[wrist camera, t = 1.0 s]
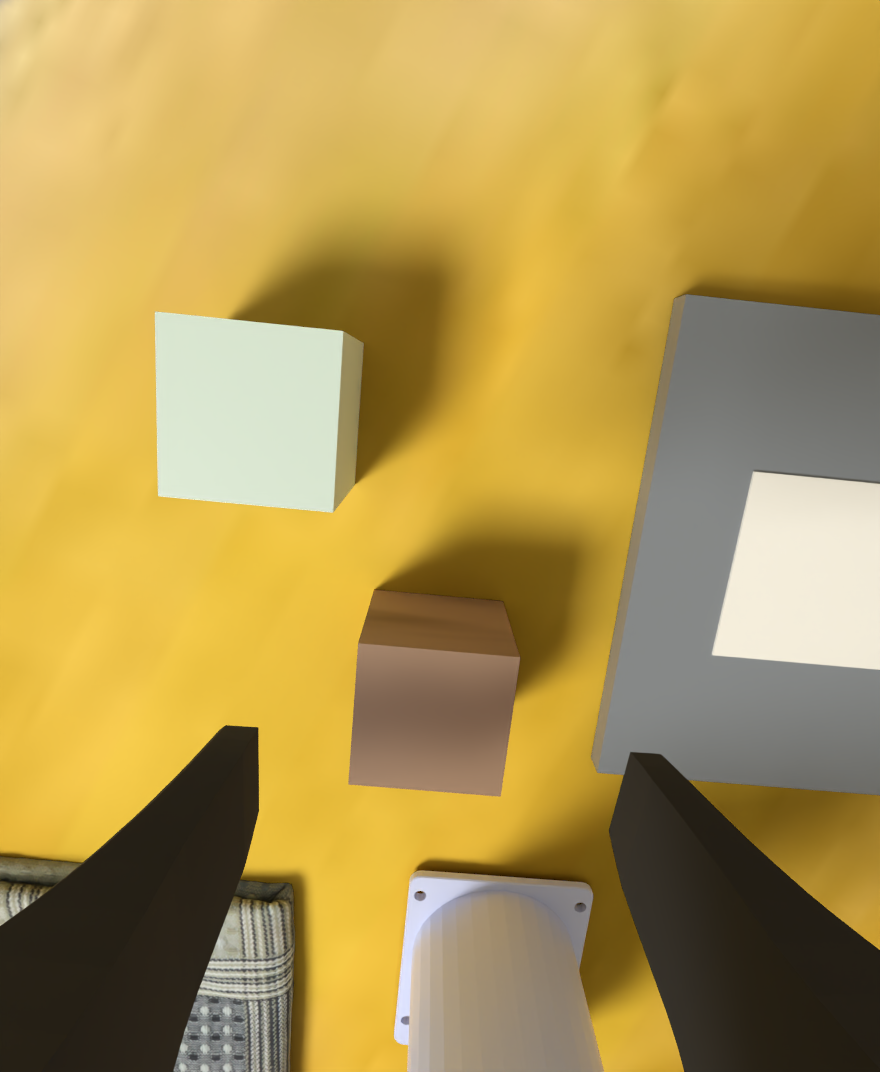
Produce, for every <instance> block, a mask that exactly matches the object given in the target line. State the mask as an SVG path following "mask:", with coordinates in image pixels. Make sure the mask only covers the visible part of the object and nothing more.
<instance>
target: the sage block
mask: <svg viewBox="0 0 880 1072" xmlns="http://www.w3.org/2000/svg"><path fill="white" fill-rule="evenodd" d="M155 344H156V400H157V457H158V496H162V497H172V498H183V499H194V500H205V501H215V502H226V503H237V504H248V505H258V506H269V507H280V508H291V509H301V510H312V511H323V512H334V511H335V510H336V508H337V507H338V506H339V504H340V503H341V502H342V501H343V499H344V498H345V497H346V495H347V494H348V493H349V492H350V490H351V489H352V488H353V487H354V485H355V474H356V458H357V443H358V427H359V411H360V396H361V380H362V364H363V348H364V343H363V342H361V341H359V340H357V339H356V338H354V337H352V336H351V335H349V334H347V333H346V332H344V331H338V330H328V329H319V328H309V327H299V326H290V325H280V324H270V323H261V322H251V321H241V320H232V319H222V318H212V317H203V316H193V315H183V314H174V313H164V312H155Z"/></svg>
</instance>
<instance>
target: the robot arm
mask: <svg viewBox="0 0 880 1072" xmlns="http://www.w3.org/2000/svg"><path fill="white" fill-rule="evenodd" d="M258 812H259V764H258V728H257V727H242V726H227V725H226V726H224V727H223V728H222V729H220V730H219V731H218V732H217V733H216V734H215V736H214V737H213V738H212V739H211V740H210V741H209V742H208V743H207V744H206V745H205V746H204V748H203V749H202V750H201V751H200V752H199V753H198V754H197V755H196V756H195V757H194V758H193V759H192V760H191V761H190V763H189V764H188V765H187V766H186V767H185V768H184V769H183V770H182V771H181V772H180V773H179V774H178V775H177V776H176V777H175V778H174V779H173V780H172V781H171V782H170V783H169V784H168V785H167V786H166V787H165V788H164V789H163V790H162V791H161V792H160V793H159V794H158V795H157V796H156V797H155V798H154V799H153V800H152V801H151V802H150V803H149V804H148V805H147V806H146V807H145V808H144V809H143V810H141V811H140V812H139V813H138V814H137V815H136V816H135V817H134V818H133V819H132V820H131V821H130V822H128V823H127V824H126V825H125V826H124V827H123V828H122V829H121V830H120V831H118V832H117V833H116V834H115V835H114V836H113V837H112V838H111V839H110V840H108V841H107V842H106V843H105V844H104V845H103V846H102V847H101V848H100V849H98V850H97V851H96V852H95V853H94V854H93V855H91V856H90V857H89V858H88V859H87V860H85V861H84V862H83V863H82V864H81V865H79V866H78V867H77V868H76V869H75V870H73V871H72V872H71V873H70V874H68V875H67V876H66V877H65V878H63V879H62V880H61V881H60V882H58V883H57V884H56V885H54V886H53V887H52V888H51V889H49V890H48V891H47V892H46V893H44V894H43V895H42V896H40V897H39V898H38V899H36V900H35V901H34V902H32V903H31V904H30V905H28V906H27V907H26V908H24V909H23V910H21V911H20V912H19V913H17V914H16V915H15V916H13V917H12V918H10V919H9V920H8V921H6V922H5V923H4V924H2V925H1V926H0V1072H173V1071H174V1067H175V1064H176V1060H177V1057H178V1053H179V1050H180V1046H181V1043H182V1039H183V1036H184V1032H185V1029H186V1026H187V1023H188V1020H189V1017H190V1014H191V1011H192V1008H193V1005H194V1002H195V999H196V996H197V993H198V991H199V988H200V985H201V983H202V980H203V977H204V975H205V972H206V969H207V967H208V964H209V961H210V959H211V956H212V953H213V951H214V948H215V945H216V943H217V940H218V937H219V935H220V932H221V929H222V927H223V924H224V921H225V919H226V916H227V913H228V911H229V908H230V905H231V902H232V900H233V897H234V894H235V892H236V889H237V886H238V883H239V881H240V878H241V875H242V872H243V870H244V867H245V863H246V860H247V856H248V852H249V848H250V844H251V841H252V836H253V832H254V828H255V824H256V820H257V816H258ZM609 834H610V838H611V843H612V847H613V852H614V857H615V861H616V865H617V869H618V873H619V878H620V882H621V886H622V889H623V891H624V894H625V897H626V900H627V903H628V906H629V909H630V912H631V914H632V917H633V920H634V923H635V926H636V929H637V931H638V934H639V937H640V940H641V943H642V945H643V948H644V951H645V954H646V956H647V959H648V962H649V965H650V968H651V970H652V973H653V976H654V979H655V981H656V984H657V987H658V990H659V993H660V995H661V998H662V1001H663V1004H664V1006H665V1009H666V1012H667V1015H668V1018H669V1021H670V1024H671V1027H672V1030H673V1033H674V1036H675V1040H676V1043H677V1046H678V1049H679V1053H680V1057H681V1060H682V1064H683V1068H684V1072H880V950H879V949H878V948H876V947H875V946H874V945H872V944H871V943H870V942H868V941H867V940H866V939H864V938H863V937H862V936H861V935H859V934H858V933H857V932H856V931H854V930H853V929H852V928H850V927H849V926H848V925H847V924H845V923H844V922H843V921H842V920H840V919H839V918H838V917H836V916H835V915H834V914H833V913H831V912H830V911H829V910H828V909H826V908H825V907H824V906H823V905H822V904H820V903H819V902H818V901H817V900H816V899H814V898H813V897H812V896H811V895H810V894H808V893H807V892H806V891H805V890H804V889H803V888H801V887H800V886H799V885H798V884H797V883H796V882H795V881H793V880H792V879H791V878H790V877H789V876H788V875H787V874H786V873H784V872H783V871H782V870H781V869H780V868H779V867H778V866H776V865H775V864H774V863H773V862H772V861H771V860H770V859H769V858H768V857H767V856H765V855H764V854H763V853H762V852H761V851H760V850H759V849H758V848H757V847H756V846H755V845H754V844H752V843H751V842H750V841H749V840H748V839H747V838H746V837H745V836H744V835H743V834H742V833H741V832H740V831H739V830H738V829H737V828H736V827H735V826H734V825H733V824H732V823H731V822H729V821H728V820H727V819H726V818H725V817H724V816H723V815H722V814H721V813H720V812H719V811H718V810H717V809H716V808H715V807H714V806H713V805H712V804H711V803H710V802H709V801H708V800H707V799H706V798H705V797H704V796H703V795H702V794H701V793H700V792H699V791H698V790H697V789H696V788H695V787H694V786H693V785H692V784H691V783H690V782H689V781H688V780H687V779H686V778H685V777H684V776H683V775H682V774H681V773H680V772H679V771H678V770H677V769H676V768H675V767H674V766H673V765H672V764H671V763H670V762H669V761H668V760H667V759H666V758H665V757H663V756H662V755H661V754H655V753H640V752H630V755H629V758H628V762H627V766H626V770H625V773H624V777H623V781H622V784H621V788H620V792H619V795H618V799H617V803H616V806H615V810H614V814H613V817H612V821H611V825H610V828H609ZM417 891H423V892H424V893H417ZM592 902H593V893H592V889H591V887H590V886H589V885H588V884H587V883H583V882H573V881H560V880H546V879H533V878H519V877H506V876H492V875H478V874H465V873H451V872H438V871H424V870H421V871H416V872H414V873H413V874H412V875H411V877H410V883H409V892H408V902H407V912H406V922H405V931H404V941H403V951H402V960H401V970H400V980H399V989H398V999H397V1009H396V1019H395V1028H394V1038H395V1040H396V1041H397V1042H398V1043H400V1044H404V1045H408V1066H407V1072H604V1070H603V1066H602V1062H601V1058H600V1054H599V1050H598V1045H597V1041H596V1037H595V1033H594V1029H593V1025H592V1021H591V1017H590V1013H589V1009H588V1005H587V1001H586V997H585V993H584V989H583V985H582V981H581V977H580V973H579V968H580V963H581V958H582V953H583V948H584V943H585V938H586V932H587V927H588V922H589V917H590V912H591V907H592ZM577 903H582V904H580V905H576V904H577Z"/></svg>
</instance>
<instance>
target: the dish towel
mask: <svg viewBox="0 0 880 1072" xmlns="http://www.w3.org/2000/svg"><path fill="white" fill-rule="evenodd" d="M81 864H82V863H73V862H60V861H50V860H36V859H27V858H11V857H3V856H0V926H1V925H2V924H4V923H5V922H6V921H8V920H9V919H10V918H12V917H13V916H15V915H16V914H17V913H19V912H20V911H21V910H23V909H24V908H26V907H27V906H28V905H30V904H31V903H32V902H34V901H35V900H36V899H38V898H39V897H40V896H42V895H43V894H44V893H46V892H47V891H48V890H49V889H51V888H52V887H53V886H54V885H56V884H57V883H58V882H60V881H61V880H62V879H63V878H65V877H66V876H67V875H68V874H70V873H71V872H72V871H73V870H75V869H76V868H77V867H78V866H79V865H81ZM293 917H294V907H293V888H292V885H291V884H289V883H262V882H256V881H246V880H240V881H239V883H238V886H237V889H236V892H235V894H234V897H233V900H232V902H231V905H230V908H229V911H228V913H227V916H226V919H225V921H224V924H223V927H222V929H221V932H220V935H219V937H218V940H217V943H216V945H215V948H214V951H213V953H212V956H211V959H210V961H209V964H208V967H207V969H206V972H205V975H204V977H203V980H202V983H201V985H200V988H199V991H198V993H197V996H196V999H195V1002H194V1005H193V1008H192V1011H191V1014H190V1017H189V1020H188V1023H187V1026H186V1029H185V1032H184V1036H183V1039H182V1043H181V1046H180V1050H179V1053H178V1057H177V1060H176V1064H175V1067H174V1071H173V1072H290V1048H291V1042H290V1039H291V1019H292V1002H293V987H294V979H293V972H294V951H295V926H294V919H293Z"/></svg>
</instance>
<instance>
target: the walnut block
mask: <svg viewBox="0 0 880 1072" xmlns="http://www.w3.org/2000/svg"><path fill="white" fill-rule="evenodd" d="M519 663H520V655H519V651H518V648H517V645H516V642H515V639H514V635H513V632H512V629H511V626H510V622H509V619H508V616H507V613H506V609H505V606H504V603H503V601H496V600H485V599H474V598H463V597H452V596H440V595H429V594H418V593H407V592H396V591H384V590H374V592H373V596H372V599H371V602H370V606H369V609H368V612H367V616H366V619H365V622H364V626H363V629H362V633H361V636H360V639H359V643H358V655H357V669H356V684H355V698H354V712H353V727H352V741H351V756H350V770H349V784H350V785H363V786H375V787H388V788H400V789H413V790H425V791H438V792H451V793H463V794H476V795H488V796H501V790H502V783H503V776H504V769H505V762H506V755H507V748H508V741H509V734H510V727H511V720H512V712H513V705H514V698H515V691H516V684H517V677H518V670H519Z"/></svg>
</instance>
